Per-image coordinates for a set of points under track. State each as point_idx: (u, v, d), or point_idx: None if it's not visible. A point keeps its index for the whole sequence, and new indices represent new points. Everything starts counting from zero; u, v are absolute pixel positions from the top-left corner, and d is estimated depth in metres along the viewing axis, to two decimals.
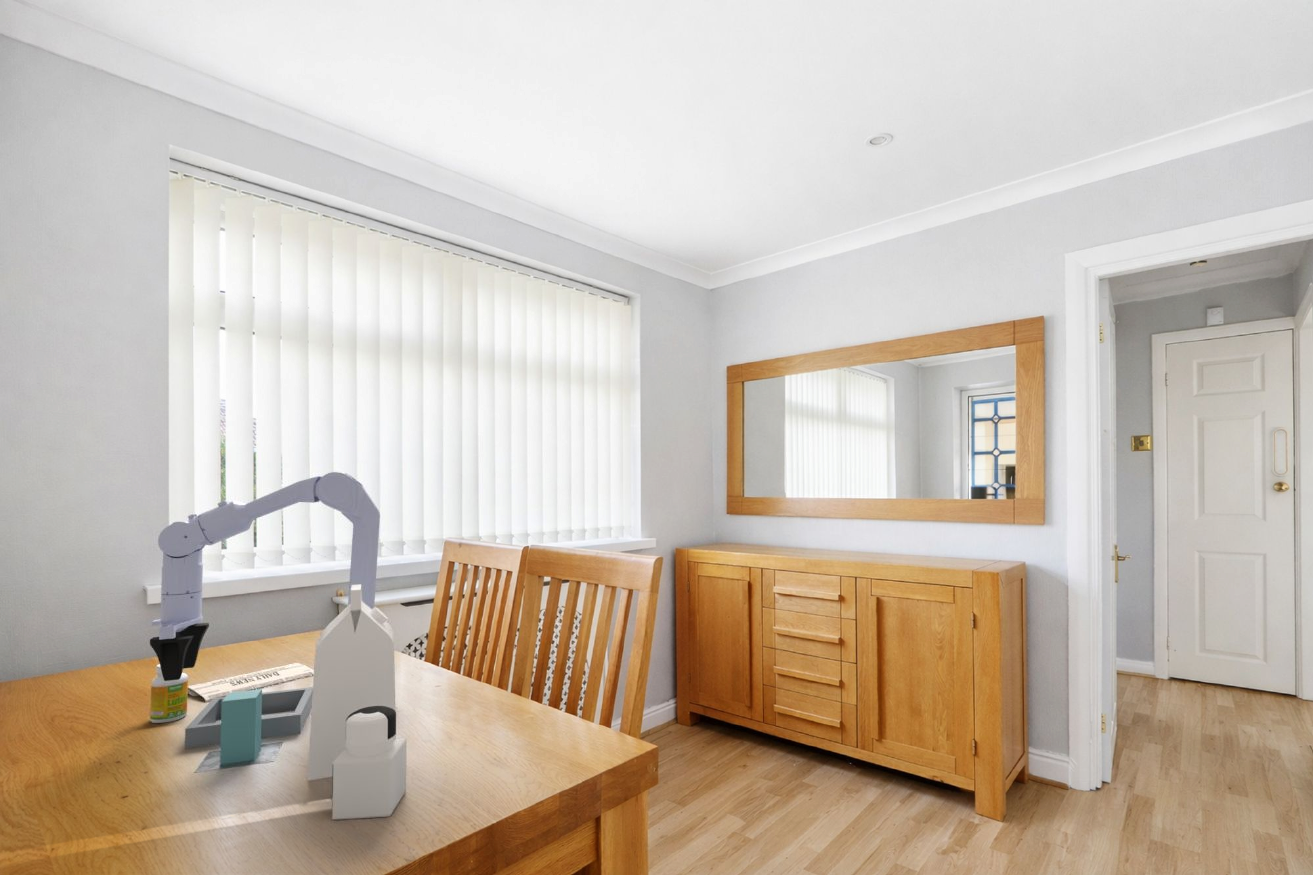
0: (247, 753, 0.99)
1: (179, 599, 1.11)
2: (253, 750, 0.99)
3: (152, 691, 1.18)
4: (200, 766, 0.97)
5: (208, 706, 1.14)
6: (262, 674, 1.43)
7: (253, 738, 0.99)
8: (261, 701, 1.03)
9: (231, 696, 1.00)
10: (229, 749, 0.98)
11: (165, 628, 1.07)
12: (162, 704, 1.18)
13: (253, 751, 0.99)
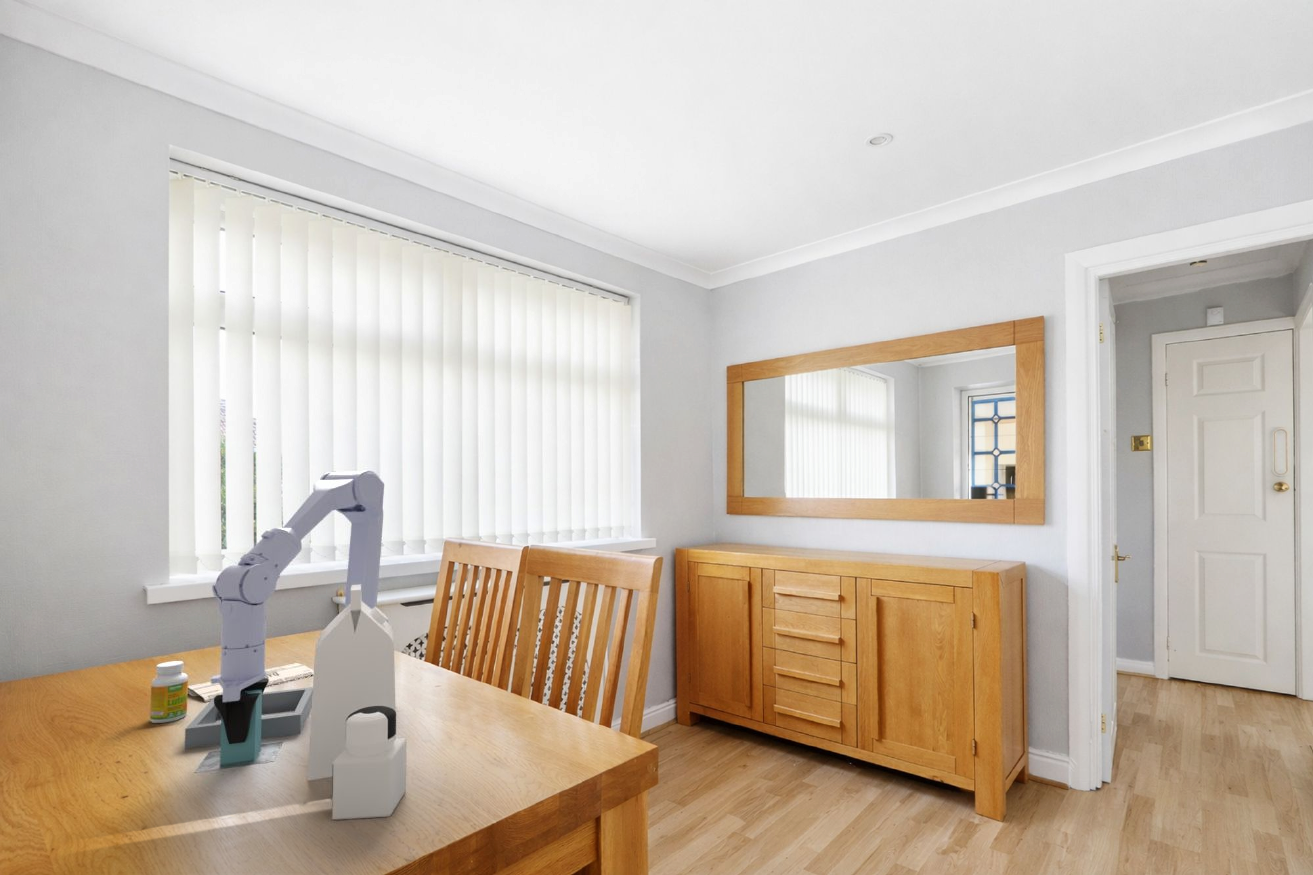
0: (247, 753, 0.99)
1: (242, 653, 0.99)
2: (253, 750, 0.99)
3: (152, 691, 1.18)
4: (200, 766, 0.97)
5: (208, 706, 1.14)
6: None
7: (253, 738, 0.99)
8: (261, 701, 1.03)
9: None
10: (229, 749, 0.98)
11: (229, 689, 0.94)
12: (162, 704, 1.18)
13: (253, 751, 0.99)
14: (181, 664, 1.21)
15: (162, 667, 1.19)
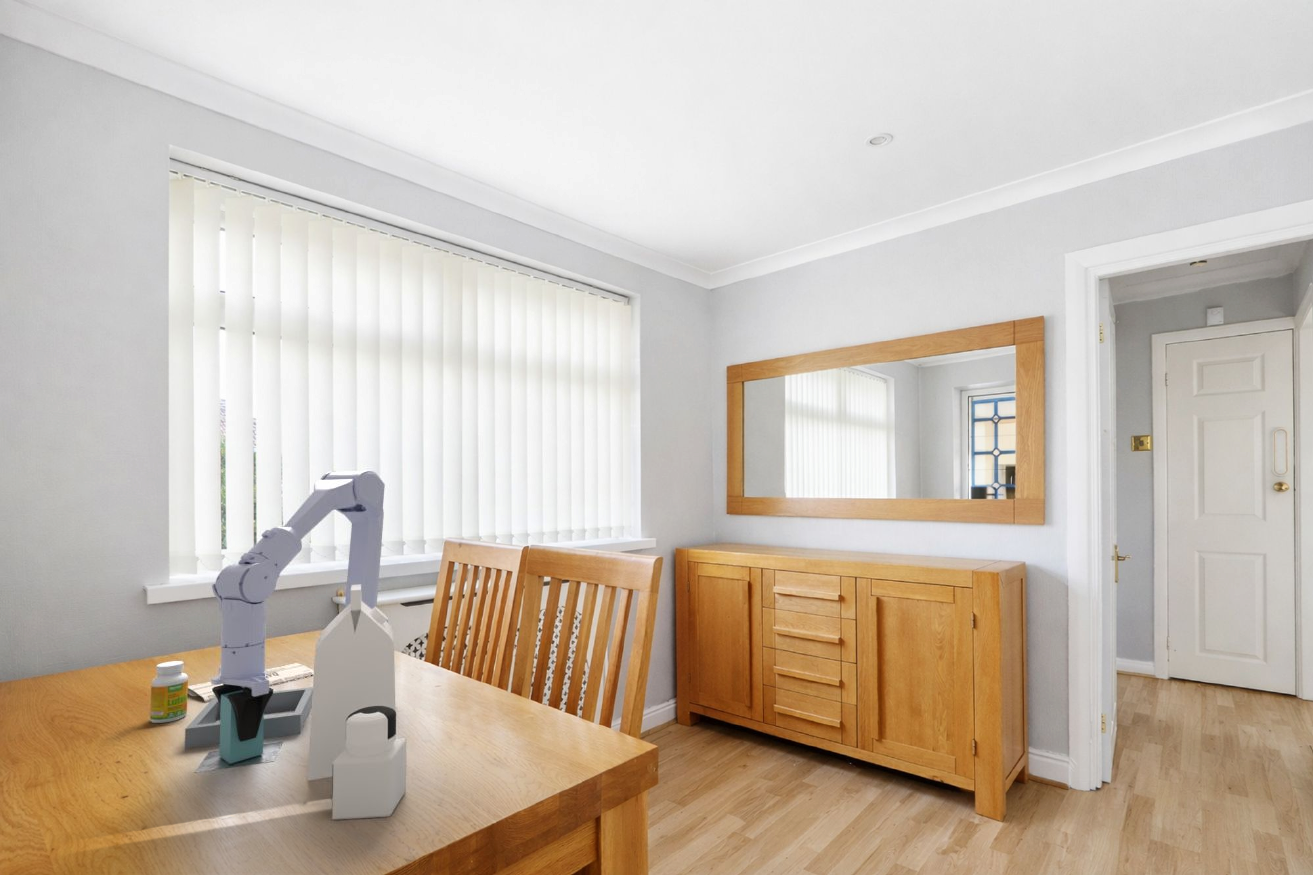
0: (256, 749, 1.00)
1: (253, 650, 1.00)
2: (261, 745, 1.00)
3: (152, 691, 1.18)
4: (200, 766, 0.97)
5: (208, 706, 1.14)
6: None
7: (261, 733, 1.01)
8: None
9: None
10: (238, 747, 0.98)
11: (260, 683, 0.96)
12: (162, 704, 1.18)
13: (261, 746, 1.00)
14: (181, 664, 1.21)
15: (162, 667, 1.19)
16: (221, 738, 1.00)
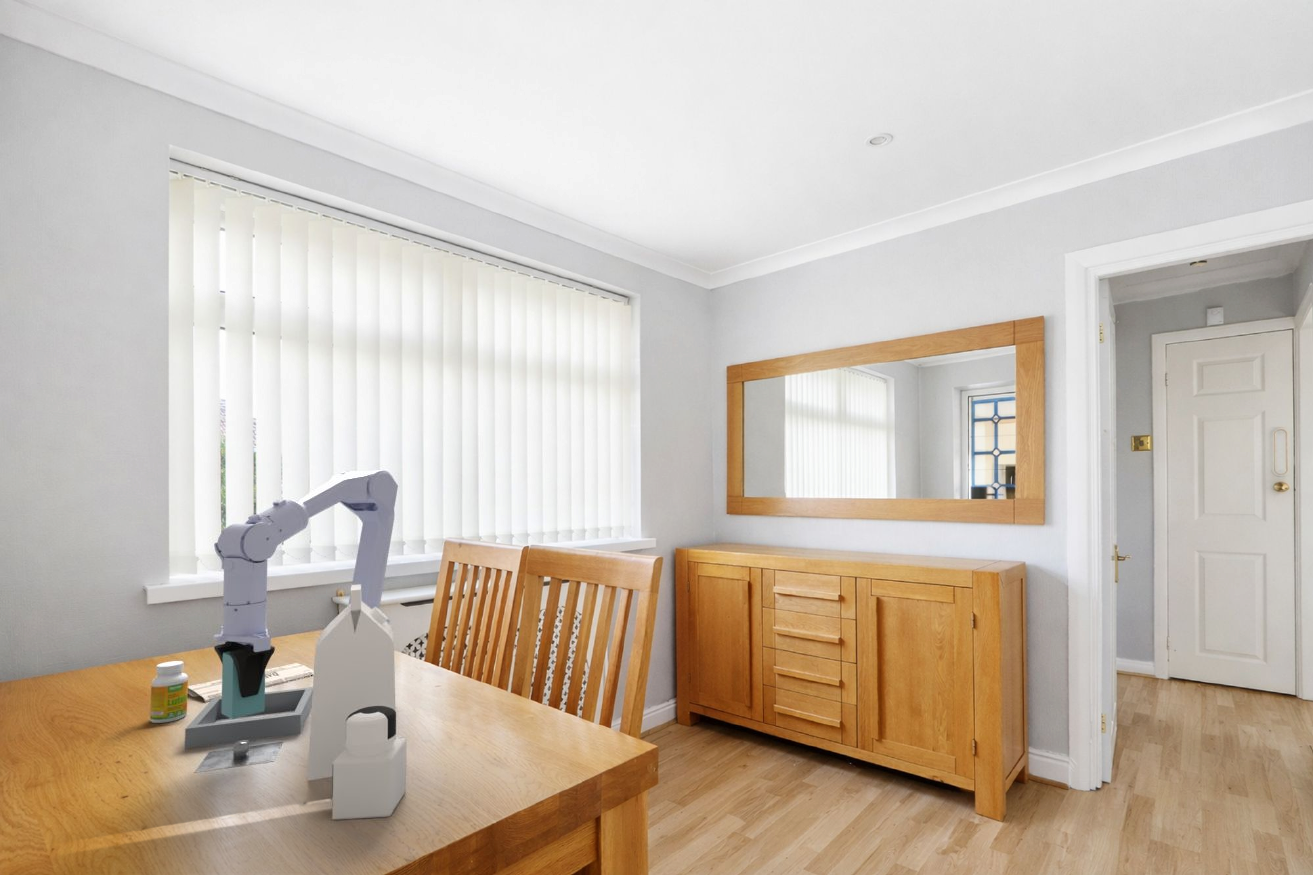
0: (257, 705, 1.01)
1: (255, 608, 1.01)
2: (263, 702, 1.01)
3: (152, 691, 1.18)
4: (200, 766, 0.97)
5: (208, 706, 1.14)
6: None
7: (262, 691, 1.02)
8: None
9: None
10: (240, 703, 0.99)
11: (262, 639, 0.97)
12: (162, 704, 1.18)
13: (263, 703, 1.01)
14: (181, 664, 1.21)
15: (162, 667, 1.19)
16: (223, 695, 1.01)
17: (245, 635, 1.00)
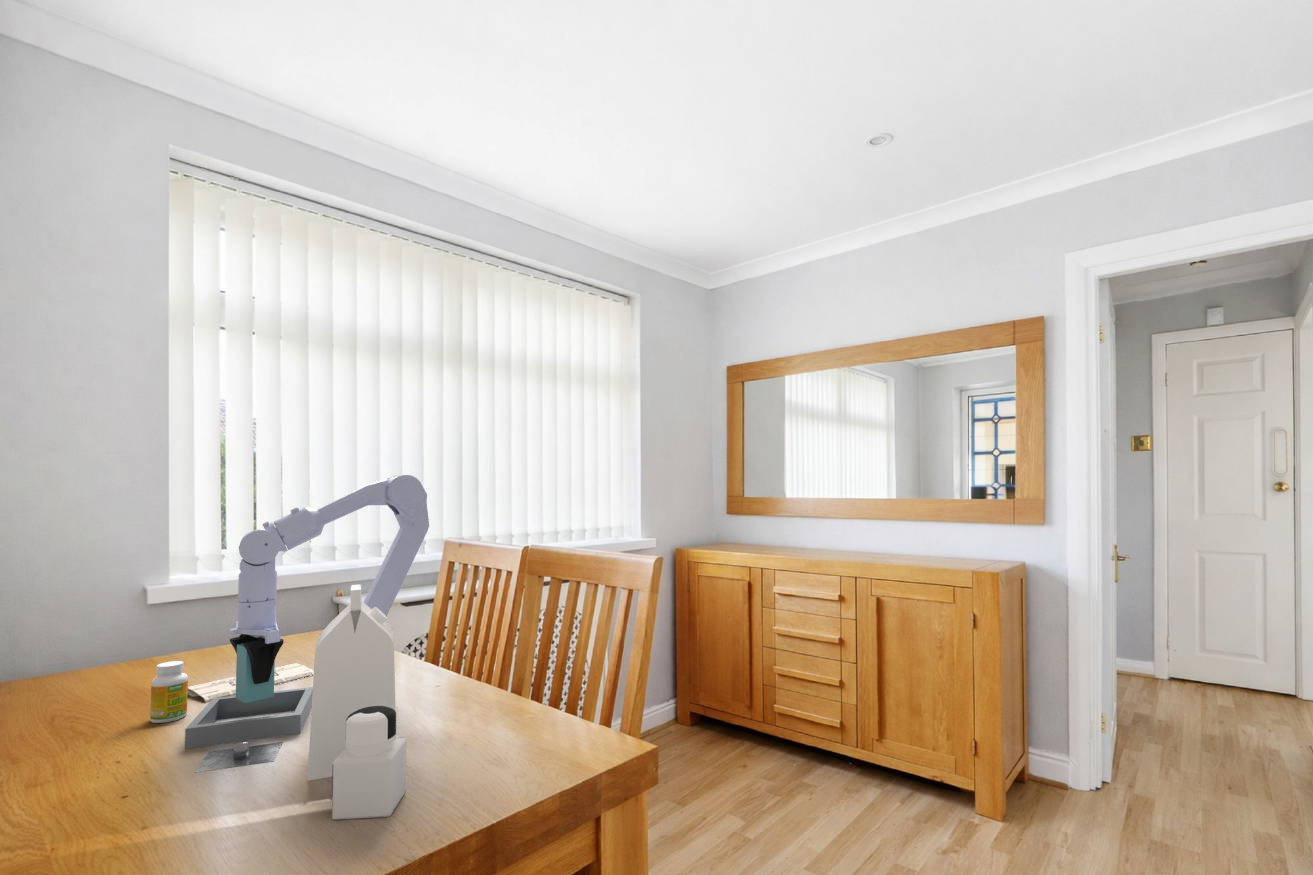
0: (267, 691, 1.14)
1: (266, 605, 1.14)
2: (272, 688, 1.14)
3: (152, 691, 1.18)
4: (200, 766, 0.97)
5: (208, 706, 1.14)
6: None
7: (272, 678, 1.14)
8: None
9: None
10: (253, 689, 1.12)
11: (272, 632, 1.10)
12: (162, 704, 1.18)
13: (272, 689, 1.14)
14: (181, 664, 1.21)
15: (162, 667, 1.19)
16: (237, 682, 1.13)
17: (257, 629, 1.12)
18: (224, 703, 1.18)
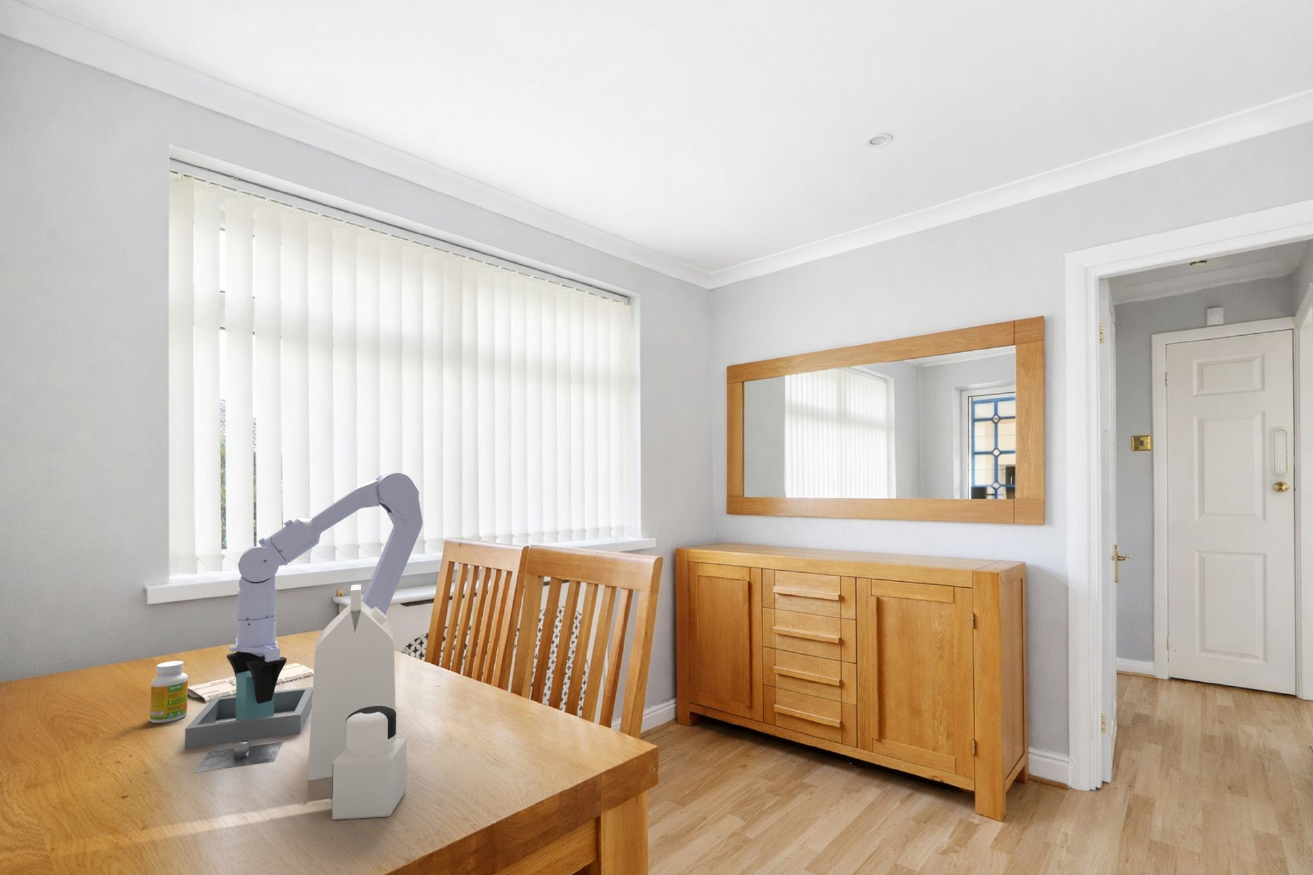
0: None
1: (266, 623, 1.13)
2: None
3: (152, 691, 1.18)
4: (200, 766, 0.97)
5: (208, 706, 1.14)
6: None
7: (272, 707, 1.14)
8: None
9: (246, 674, 1.13)
10: None
11: (272, 650, 1.10)
12: (162, 704, 1.18)
13: None
14: (181, 664, 1.21)
15: (162, 667, 1.19)
16: (237, 711, 1.13)
17: (257, 646, 1.12)
18: (224, 703, 1.18)
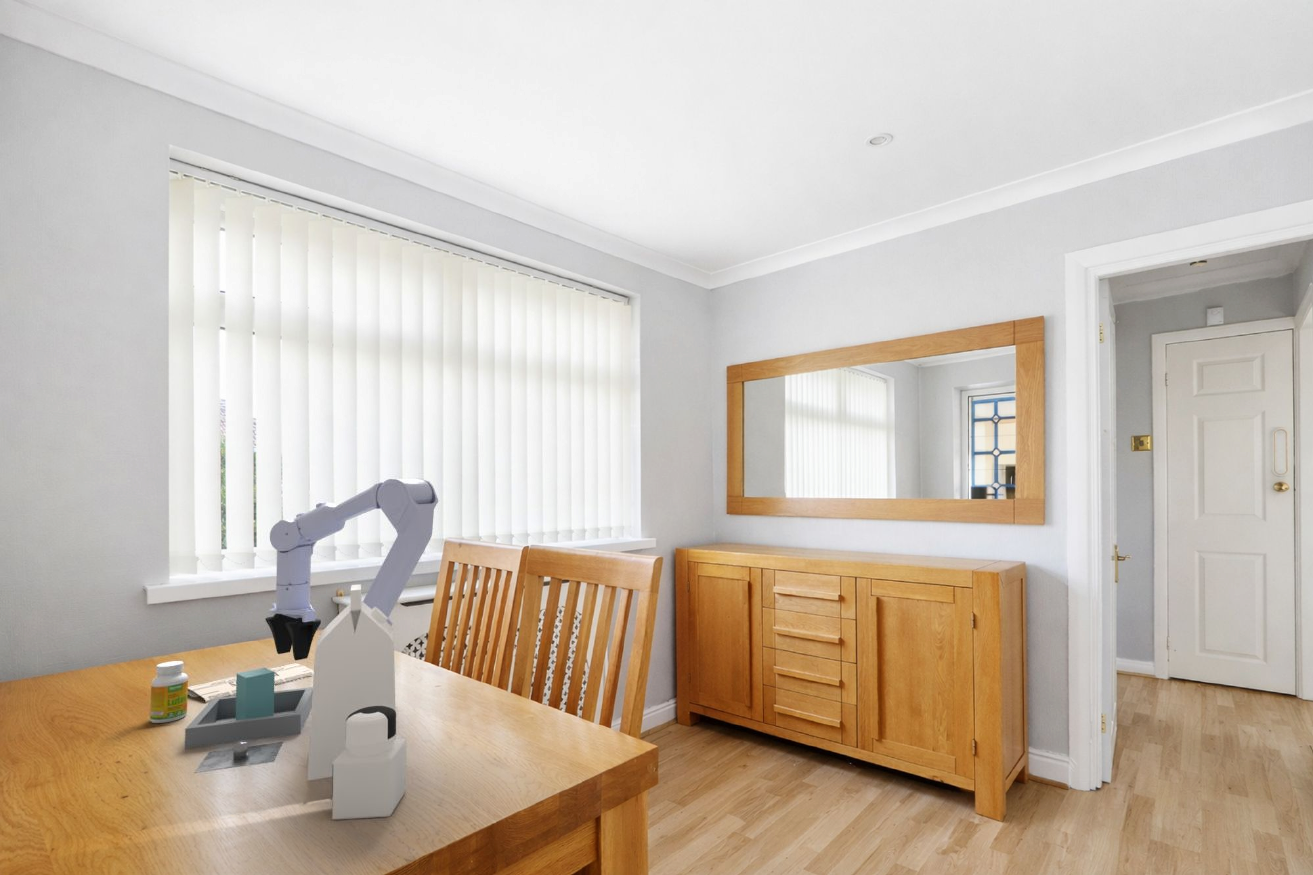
0: None
1: (302, 588, 1.25)
2: None
3: (152, 691, 1.18)
4: (200, 766, 0.97)
5: (208, 706, 1.14)
6: None
7: (272, 707, 1.14)
8: None
9: (246, 674, 1.13)
10: None
11: (309, 612, 1.22)
12: (162, 704, 1.18)
13: None
14: (181, 664, 1.21)
15: (162, 667, 1.19)
16: (237, 711, 1.13)
17: (294, 609, 1.24)
18: (224, 703, 1.18)
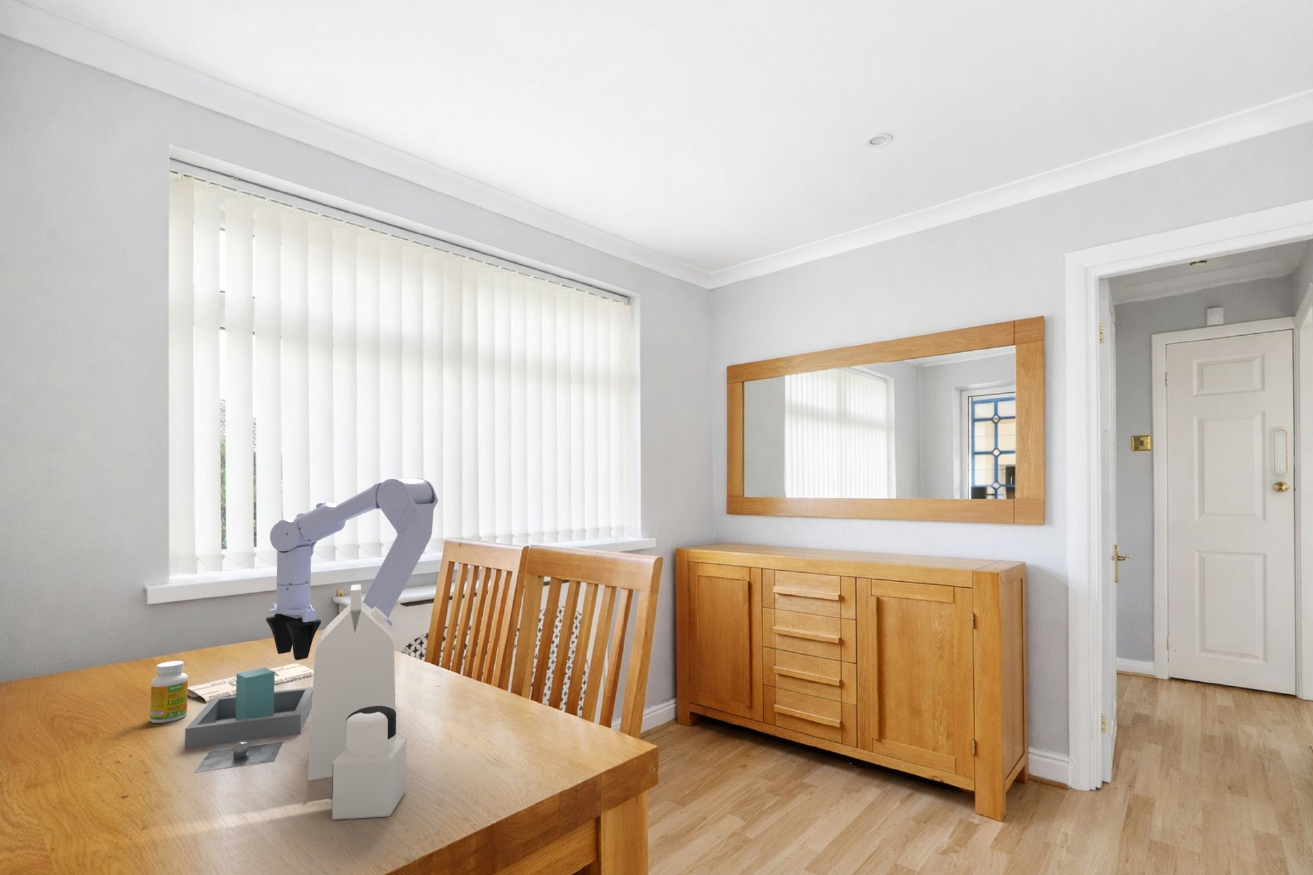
0: None
1: (302, 588, 1.25)
2: None
3: (152, 691, 1.18)
4: (200, 766, 0.97)
5: (208, 706, 1.14)
6: None
7: (272, 707, 1.14)
8: None
9: (246, 674, 1.13)
10: None
11: (309, 612, 1.22)
12: (162, 704, 1.18)
13: None
14: (181, 664, 1.21)
15: (162, 667, 1.19)
16: (237, 711, 1.13)
17: (295, 609, 1.24)
18: (224, 703, 1.18)
